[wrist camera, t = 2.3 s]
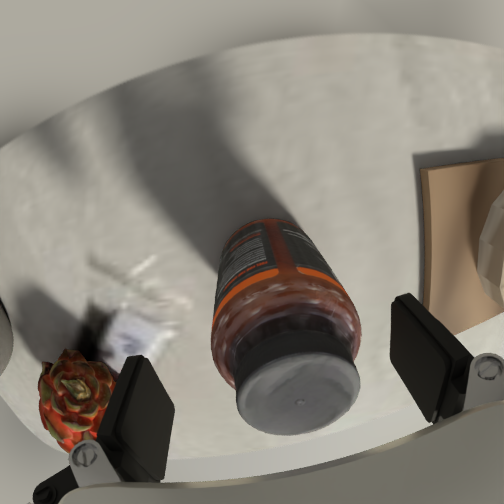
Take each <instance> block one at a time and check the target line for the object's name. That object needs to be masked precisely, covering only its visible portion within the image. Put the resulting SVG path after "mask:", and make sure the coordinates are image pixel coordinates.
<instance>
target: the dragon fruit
mask: <svg viewBox="0 0 504 504" xmlns="http://www.w3.org/2000/svg"><path fill="white" fill-rule="evenodd" d="M42 367H43V368H42V373H41V375H40V378H39V381H38V391H39V395H40V400H39V412H40V416H41V421H42V423H43V426H44V428H45V429H46V430H49V432H50V434H51V435H52V437H54V438H55V439H56V440H57V442H58V444H59V445H60V447H61V448H62V449H64V450H65V451H66V452H67V453H70V451H71V449H72V448H73V447H74V446H75V445H76V444H78V443H79V442H81V441H84V440H94V441H96V438H97V435H96V434H97V432H98V429H99V426H100V423H101V421H102V418H103V415H104V413H105V410H106V408H107V405H108V402H109V400H110V397H111V395H112V392H113V390H114V387H115V385H116V382H115V381H113V377H112V375H111V374H110V372H109V369H108V368H107V366H106V365H105V364H104V363H102V362H101V361H99V362H92V361H89V362H87V361H86V360H85V358H84V357H83V356H82V354H81V353H80V352H79V351H75V350H68V349H64V351H63V353H62V354H61V356H60V357H59V358H58V360H57V361H56V362H55V363H54V364H53V363H50V362H42Z"/></svg>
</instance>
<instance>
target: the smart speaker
mask: <svg viewBox="0 0 504 504" xmlns="http://www.w3.org/2000/svg"><path fill="white" fill-rule="evenodd" d="M12 351H13V333H12V329H11V325H10V322H9V320H8V317H7V315H6V313H5V311H4V309H3V308H2V306H1V304H0V376H1V374H2V373H3V372H4V370H5V368H6V367H7V365H8V363H9V360H10V358H11V355H12Z"/></svg>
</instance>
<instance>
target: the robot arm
mask: <svg viewBox="0 0 504 504" xmlns="http://www.w3.org/2000/svg"><path fill="white" fill-rule="evenodd" d="M390 360H391V363H392V365H393V366H394V368H395V369H396V371H397V373H398V374H399V376H400V377H401V379H402V381H403V382H404V384H405V385H406V387H407V389H408V390H409V392H410V394H411V395H412V397H413V399H414V400H415V402H416V404H417V405H418V407H419V409H420V410H421V412H422V414H423V415H424V417H425V419H426V420H427V421H428V422H429V423H430V422H432V423H433V425H431V426H429V427H427V428H424V429H422V430H420V431H417V432H415V433H412V434H410V435H407V436H405V437H402V438H400V439H397V440H394V441H392V442H389V443H386V444H384V445H381V446H378V447H375V448H372V449H369V450H366V451H363V452H360V453H357V454H354V455H350V456H347V457H344V458H340V459H337V460H333V461H329V462H325V463H321V464H317V465H313V466H309V467H304V468H299V469H295V470H290V471H284V472H279V473H273V474H267V475H261V476H254V477H246V478H238V479H228V480H218V481H205V482H204V481H203V482H176V483H160V480H163V479H164V476H165V470H166V463H167V456H168V450H169V444H170V437H171V431H172V425H173V419H174V413H175V408H174V404H173V402H172V401H171V399H170V397H169V395H168V394H167V392H166V390H165V388H164V387H163V385H162V383H161V381H160V380H159V378H158V376H157V374H156V372H155V370H154V368H153V367H152V365H151V363H150V361H149V359H148V358H144V356H142V355H136V356H129V357H127V359H126V361H125V363H124V366H123V368H122V370H121V373H120V375H119V378H118V380H117V382H116V385H115V387H114V390H113V392H112V395H111V397H110V400H109V402H108V405H107V408H106V410H105V413H104V415H103V418H102V421H101V423H100V426H99V429H98V432H97V434H96V435H97V438H96V441H94V440H84V441H81V442H79V443H78V444H76V445H75V446H74V447H73V448H72V449H71V451H70V453H69V464H70V465H69V466H68V467H66V468H65V469H63V470H61V471H60V472H58V473H56V474H55V475H53V476H52V477H50V478H48V479H47V480H45V481H43V482H42V483H40V484H39V485H38V486H37V487H36V488H35V490H34V493H33V502H34V503H33V504H504V359H503V358H502V357H500V356H498V355H496V354H493V353H483V354H480V355H478V356H476V357H475V358H474V357H473V356H472V355H471V353H470V352H469V351H468V350H467V349H466V348H465V347H464V346H463V345H462V344H461V343H460V342H459V341H458V339H457V338H456V337H455V336H454V335H453V334H452V333H451V332H450V331H449V330H448V329H447V328H446V327H445V326H444V325H443V324H442V323H441V322H440V321H439V320H438V319H436V318H435V317H434V316H433V315H432V314H431V313H430V312H429V311H428V310H427V309H426V308H425V307H424V306H423V305H422V304H421V303H420V302H419V301H418V300H417V299H416V298H415V297H414V296H413V295H412V294H411V293H407V294H403V295H400V296H397V297H396V298H395V301H394V302H392V304H391V338H390ZM28 504H31V503H30V502H29V503H28Z"/></svg>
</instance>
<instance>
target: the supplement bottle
mask: <svg viewBox="0 0 504 504" xmlns="http://www.w3.org/2000/svg"><path fill="white" fill-rule="evenodd" d="M361 336H362V334H361V324H360V319H359V316H358V313H357V311H356V309H355V306H354V304H353V302H352V301H351V299H350V297H349V296H348V294H347V293H346V291H345V289H344V288H343V286H342V285H341V283H340V282H339V280H338V279H337V277H336V276H335V274H334V273H333V271H332V269H331V268H330V266H329V265H328V264H327V262H326V261H325V259H324V258H323V256H322V255H321V254H320V252H319V251H318V249H317V248H316V246H315V245H314V243H313V242H312V240H311V239H310V238H309V237H308V236H307V235H306V234H305V233H304V232H303V231H302V230H301V229H300V228H299V227H297V226H295V225H294V224H292V223H290V222H287V221H284V220H279V219H261V220H256V221H253V222H251V223H248V224H246V225H245V226H243V227H241V228H240V229H239V230H237V231H236V232H235V233H234V234H233V235H232V236H231V237H230V239H229V240H228V241H227V243H226V245H225V247H224V249H223V252H222V255H221V259H220V265H219V272H218V281H217V289H216V296H215V304H214V314H213V322H212V333H211V350H212V356H213V360H214V364H215V366H216V368H217V369H218V371H219V373H220V374H221V376H222V377H223V378H224V379H225V381H226V382H227V383H228V384H229V385H230V386H231V387H232V388H234V389H235V390H236V403H237V409H238V411H239V414H240V415H241V417H242V418H243V419H244V420H245V421H246V422H247V423H248V424H249V425H251V426H252V427H254V428H256V429H257V430H260V431H262V432H265V433H268V434H274V435H289V436H291V435H299V434H305V433H310V432H313V431H316V430H319V429H321V428H324V427H326V426H328V425H330V424H332V423H333V422H335V421H336V420H338V419H339V418H340V417H341V416H343V415H344V414H345V413H346V412H347V411H349V409H350V407H351V406H352V405H353V404H354V403H355V401H356V399H357V397H358V393H359V390H360V377H359V374H358V371H357V369H356V366H355V364H354V360H355V358H356V356H357V353H358V350H359V347H360V342H361Z"/></svg>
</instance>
